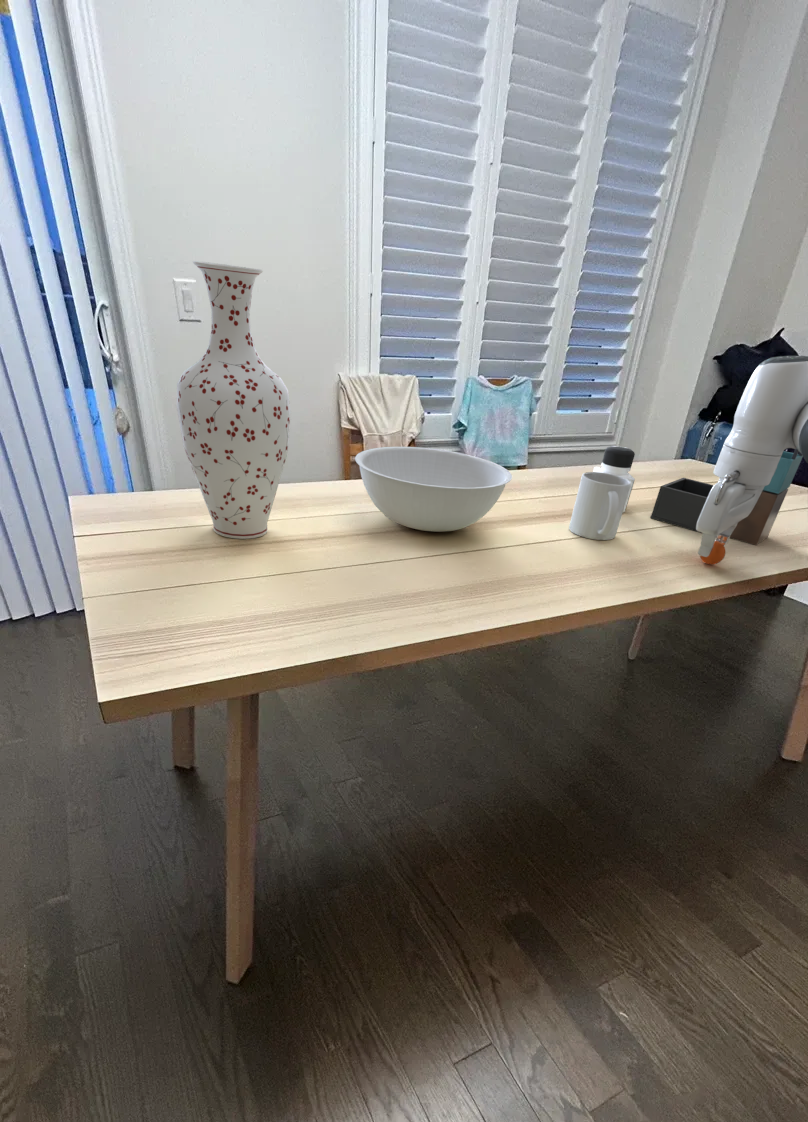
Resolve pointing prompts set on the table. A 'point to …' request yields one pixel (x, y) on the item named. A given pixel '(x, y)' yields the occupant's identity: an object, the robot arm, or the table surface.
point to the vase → (234, 412)
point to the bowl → (431, 486)
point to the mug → (599, 505)
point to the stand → (759, 518)
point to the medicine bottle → (618, 464)
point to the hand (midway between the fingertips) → (712, 549)
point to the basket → (681, 502)
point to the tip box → (784, 472)
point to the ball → (715, 554)
